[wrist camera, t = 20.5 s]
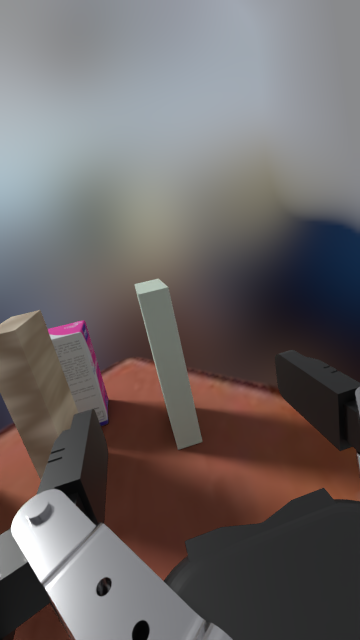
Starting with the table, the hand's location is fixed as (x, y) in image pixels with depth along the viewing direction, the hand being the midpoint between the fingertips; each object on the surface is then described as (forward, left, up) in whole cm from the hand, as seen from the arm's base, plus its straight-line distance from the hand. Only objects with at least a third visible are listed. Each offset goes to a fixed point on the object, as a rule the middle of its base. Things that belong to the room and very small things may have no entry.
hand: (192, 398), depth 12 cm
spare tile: (0, +14, -12) cm, 18 cm away
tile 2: (-10, +12, -12) cm, 20 cm away
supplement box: (-10, +21, -12) cm, 26 cm away
